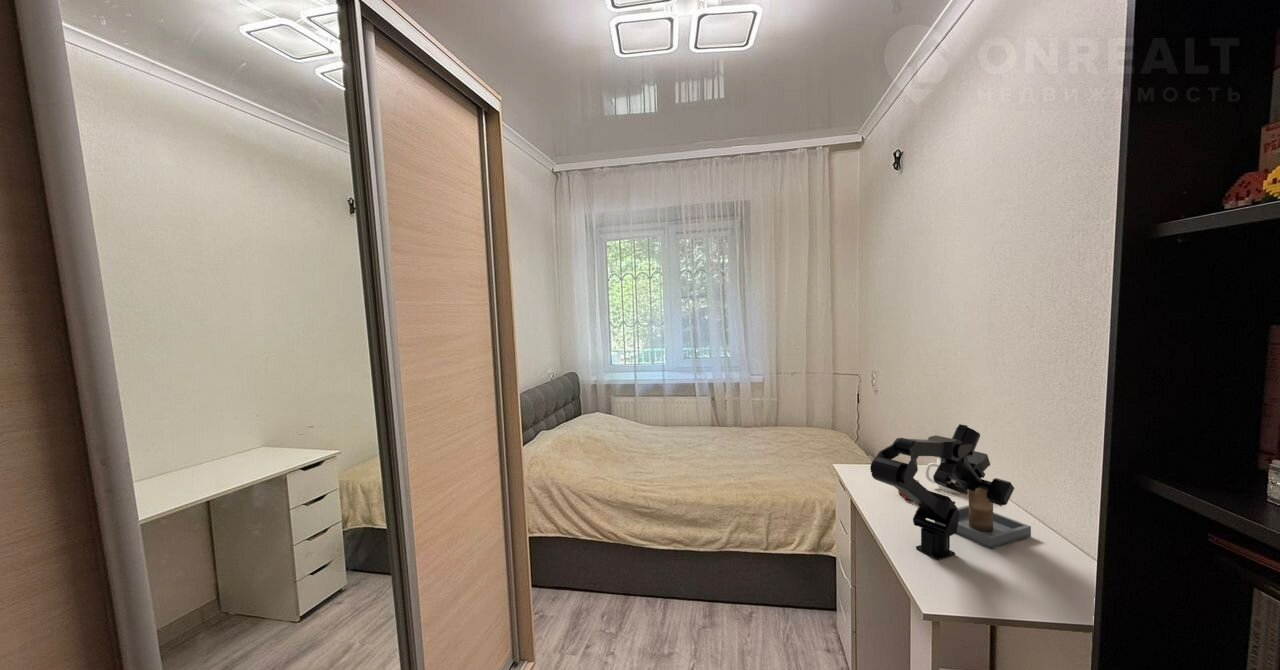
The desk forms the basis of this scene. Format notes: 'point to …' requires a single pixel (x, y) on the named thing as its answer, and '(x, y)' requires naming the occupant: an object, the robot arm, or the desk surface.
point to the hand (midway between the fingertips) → (983, 498)
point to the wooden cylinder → (980, 511)
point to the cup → (933, 479)
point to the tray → (1001, 534)
